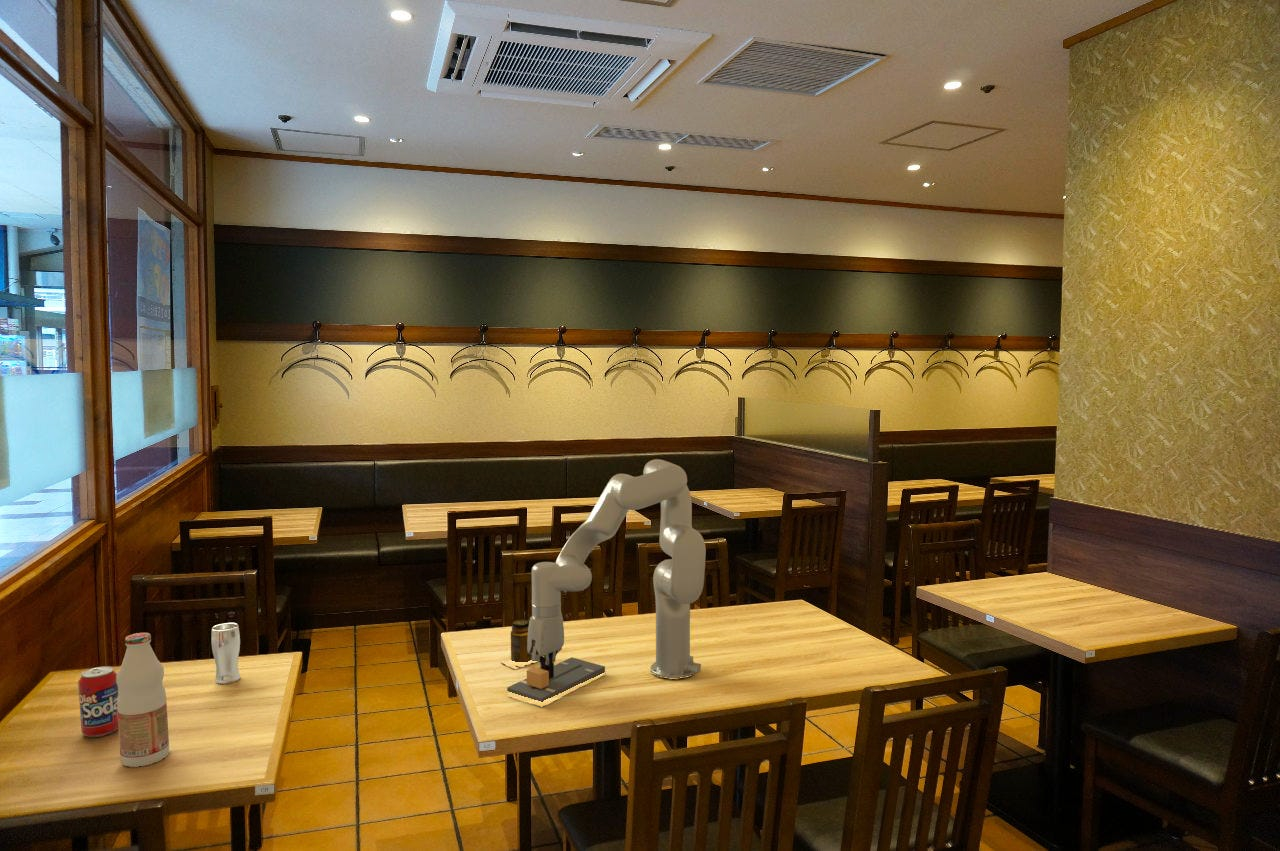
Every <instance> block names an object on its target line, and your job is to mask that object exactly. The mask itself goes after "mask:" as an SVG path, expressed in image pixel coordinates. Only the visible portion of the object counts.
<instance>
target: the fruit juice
mask: <svg viewBox="0 0 1280 851" xmlns="http://www.w3.org/2000/svg"><path fill="white" fill-rule="evenodd" d="M151 641H152V635H151V633H149V632H136V633H133V634H129V635H127V636H126V637H125V638H124V643H125V646H126V650H125V653H124V657H123V659H122V664H121V665H120V667H119V668H118V670H117V672H116V673H117V675H116V683H117V686H118V690H119V695H118V699H117V713H118V727H119V728H118V739H119V740H118V741H119V755H120V762H121V764H122V765H123V766H124V765H125V767H127V766H129V768H140V767H139V766H142V767H146V766H145V765H147V766H149V764H150V765H154V764H156V763H158V762H161V761H162V760H163V758H164V759H165V758H166V757H167V756H168V754H169V752H170V737H169V723H168V722H169V721H168V705H167V701H168V700H167V692H166V689H165V687H164V685H163V680H164V676H165V670H164V666H163V664H162V662H160V660H158V657H157V656H156V654H155V652H154V650H153V648H152V646H151V644H150V643H151ZM155 762H156V763H155ZM153 763H154V764H153Z"/></svg>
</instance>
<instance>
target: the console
mask: <svg viewBox="0 0 1280 851" xmlns="http://www.w3.org/2000/svg"><path fill="white" fill-rule="evenodd" d="M605 667H606V666H605V665H601V664H598V663H594V662H590V661H588V660H587V661H586V660H583V659H579V658H576V657H571V656H570V658H569V657H568V658H567V659H565V660H563V661H559V663H556V664H554V677H553V678H551V679H549V685H548V686H546V687H544V688H542V689H540V688H537V687H533V686H530V685H527V677H526V678H525V679H521V680H519V681H518V682H516V683H514V684H512V685H509V686H508V687H507V688H506V689H507V691H509V692H512V693H515V694H518V695H521V696H524V697H528V698H531V699H534V700H538V701H541V702H543V701H544V700H546V699H548V698H551V697H553V696H555V695H558V694H559V693H562V692H564V691H566V690H568V689H570V688H572V687H574V686H576V685H578V684H580V683H583V682H585V681H587V680H589V679H591V678H594V677H596V676H598V675H600V674H602V673H604V672H605V673H606V668H605Z"/></svg>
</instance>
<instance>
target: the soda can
mask: <svg viewBox="0 0 1280 851" xmlns="http://www.w3.org/2000/svg"><path fill="white" fill-rule="evenodd" d="M116 675H117V672H116V671H115V669H114V667H113V666H110V665H109V666H108V665H104V666H97V667H91V668H89V669H86V670H84V671H82V672H81V676H80V677H79V679H78V681H77V684H78V686H77V687H78V688H77V689H78V699H79V702H78V703H79V713H80V714H79V715H80V727H81V734H82V735H83V736H86V737H89V738H99V737H100V738H101V737H106V736H108V735H110V734H112V733H114V732H115V731H116V730H119V727H118V713H117V699H118V695H119V688H118V686H117V683H116Z"/></svg>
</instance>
